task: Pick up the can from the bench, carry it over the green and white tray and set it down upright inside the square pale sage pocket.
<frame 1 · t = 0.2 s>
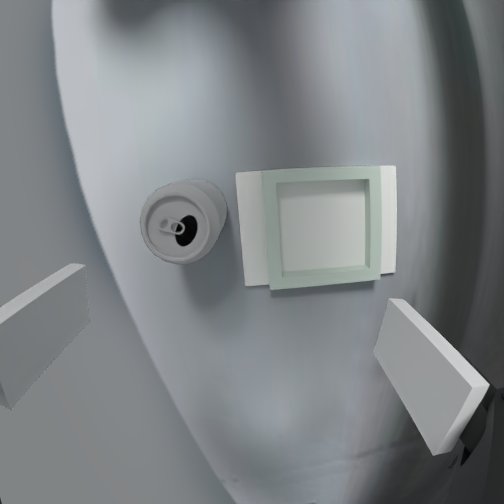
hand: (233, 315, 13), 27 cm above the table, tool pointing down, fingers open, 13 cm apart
green and white tray: (321, 224, 39), on the table
can: (197, 209, 38), on the table
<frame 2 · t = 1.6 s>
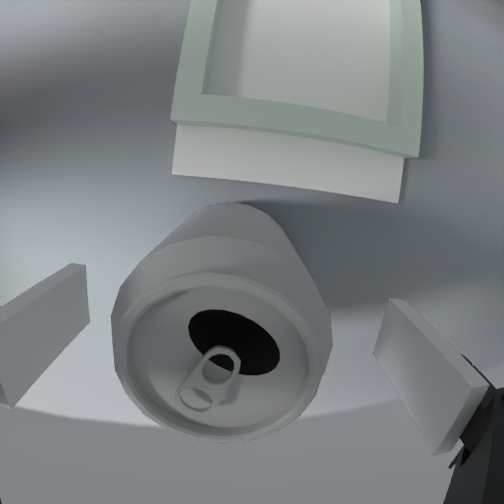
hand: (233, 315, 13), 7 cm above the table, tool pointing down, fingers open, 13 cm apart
green and white tray: (306, 35, 16), on the table
can: (231, 260, 20), on the table
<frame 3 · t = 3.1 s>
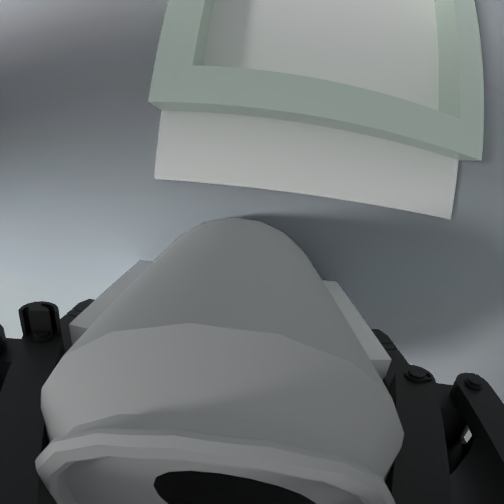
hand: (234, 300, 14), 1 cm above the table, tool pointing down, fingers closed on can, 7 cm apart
green and white tray: (333, 0, 11), on the table
can: (235, 293, 15), on the table, touching gripper
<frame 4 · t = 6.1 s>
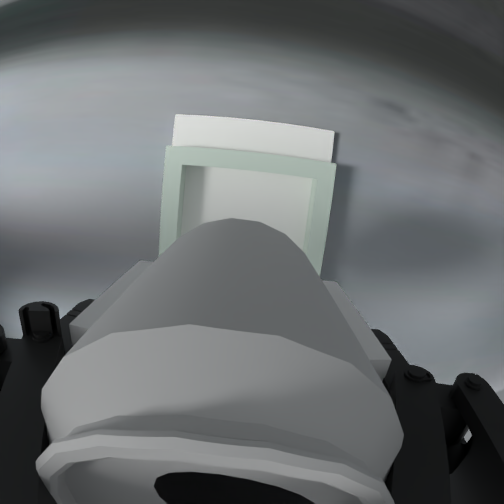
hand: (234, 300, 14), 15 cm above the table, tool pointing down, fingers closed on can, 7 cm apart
green and white tray: (242, 231, 29), on the table
can: (235, 293, 15), point 14 cm above the table, touching gripper
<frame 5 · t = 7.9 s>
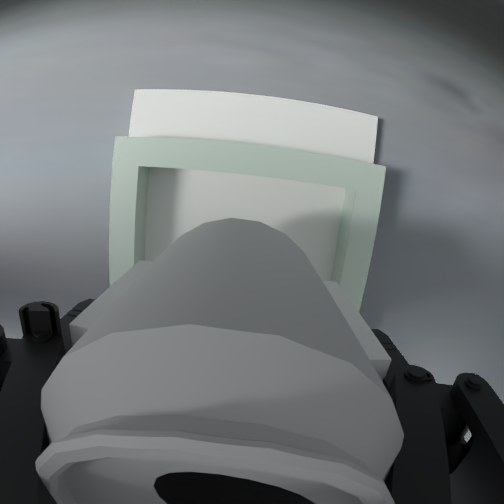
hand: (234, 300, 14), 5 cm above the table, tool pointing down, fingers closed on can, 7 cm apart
green and white tray: (237, 268, 19), on the table
can: (235, 293, 15), point 4 cm above the table, touching gripper
when the fingers open (3 cm above the table, at t = 9.1 s): can drops 2 cm, resting on green and white tray.
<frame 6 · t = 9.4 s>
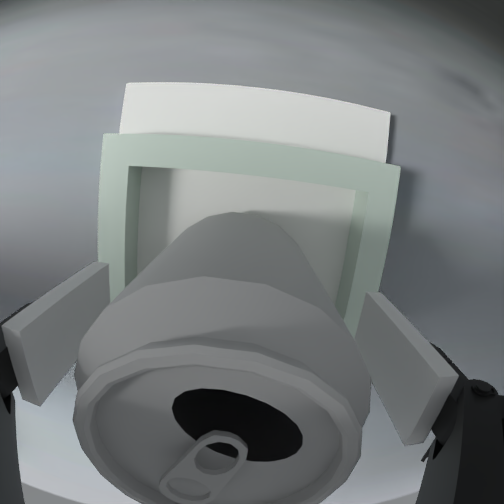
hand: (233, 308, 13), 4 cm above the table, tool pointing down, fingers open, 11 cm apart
green and white tray: (237, 276, 17), on the table
can: (235, 279, 17), resting on green and white tray
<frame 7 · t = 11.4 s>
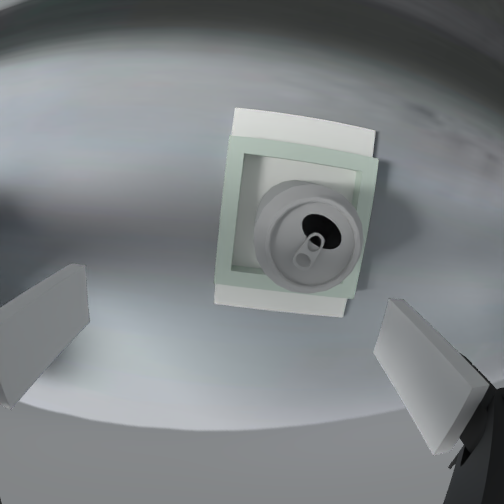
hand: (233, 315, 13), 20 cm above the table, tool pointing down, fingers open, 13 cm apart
green and white tray: (293, 216, 32), on the table
can: (293, 217, 31), resting on green and white tray
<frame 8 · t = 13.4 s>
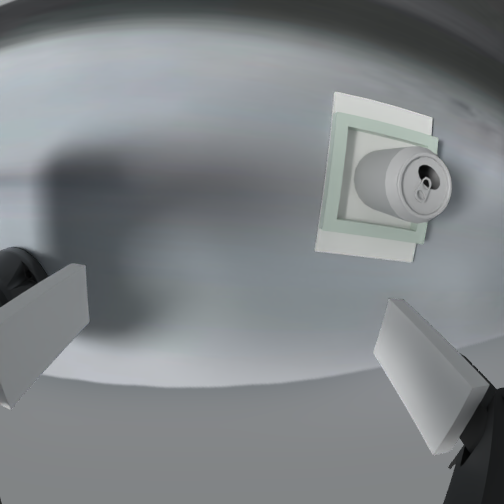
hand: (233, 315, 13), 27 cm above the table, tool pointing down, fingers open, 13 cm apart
green and white tray: (378, 179, 37), on the table
can: (378, 179, 37), resting on green and white tray
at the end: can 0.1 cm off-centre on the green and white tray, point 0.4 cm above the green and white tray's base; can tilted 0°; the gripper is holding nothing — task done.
